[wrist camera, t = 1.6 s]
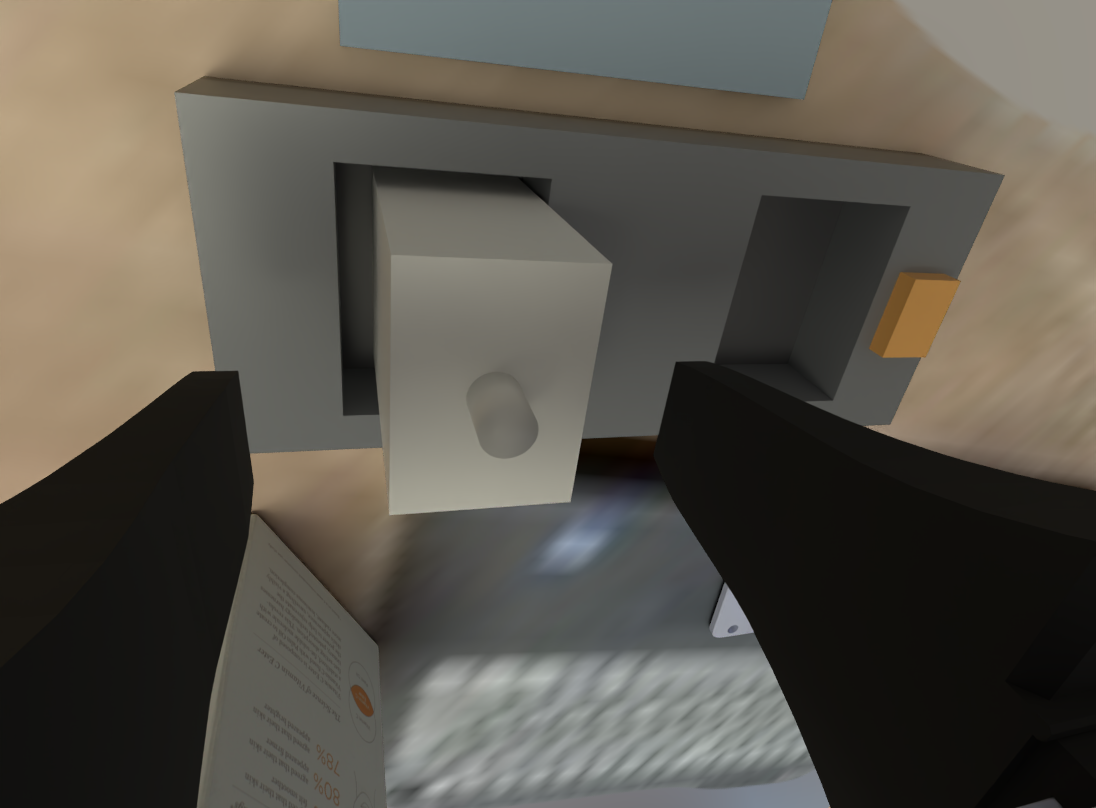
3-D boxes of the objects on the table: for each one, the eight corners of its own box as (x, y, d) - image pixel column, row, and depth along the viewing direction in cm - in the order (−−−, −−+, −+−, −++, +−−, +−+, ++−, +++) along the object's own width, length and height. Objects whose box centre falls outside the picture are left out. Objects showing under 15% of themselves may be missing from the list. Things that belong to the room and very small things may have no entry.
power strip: (911, 150, 20) (1023, 180, 17) (825, 374, 24) (902, 434, 21) (207, 74, 15) (166, 96, 11) (245, 384, 19) (224, 469, 15)
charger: (517, 177, 17) (640, 289, 10) (500, 353, 19) (588, 541, 12) (372, 165, 16) (397, 282, 9) (373, 354, 18) (393, 559, 11)
